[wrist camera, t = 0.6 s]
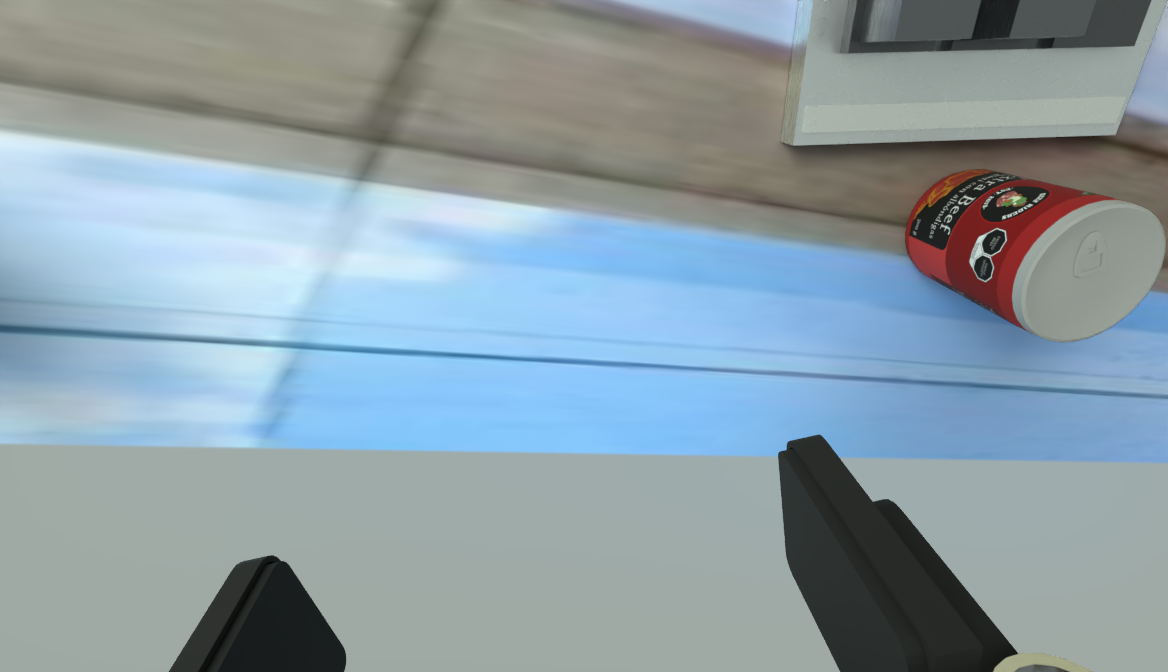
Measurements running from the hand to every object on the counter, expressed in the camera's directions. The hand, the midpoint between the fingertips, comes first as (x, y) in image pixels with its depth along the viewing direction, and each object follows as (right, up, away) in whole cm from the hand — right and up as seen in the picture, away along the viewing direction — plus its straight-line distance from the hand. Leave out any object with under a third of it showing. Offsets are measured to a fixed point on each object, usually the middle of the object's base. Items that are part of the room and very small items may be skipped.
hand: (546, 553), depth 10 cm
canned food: (+27, +12, +29) cm, 41 cm away
